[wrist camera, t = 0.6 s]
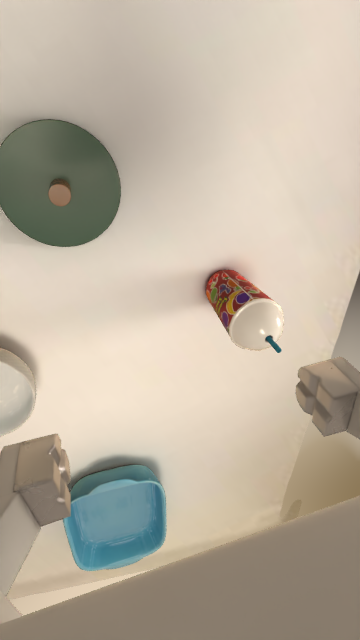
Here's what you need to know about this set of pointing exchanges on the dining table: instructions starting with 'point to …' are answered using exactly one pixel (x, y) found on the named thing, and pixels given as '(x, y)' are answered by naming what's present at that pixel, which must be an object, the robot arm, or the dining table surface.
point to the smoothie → (245, 311)
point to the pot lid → (58, 183)
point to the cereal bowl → (15, 392)
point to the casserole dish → (116, 518)
